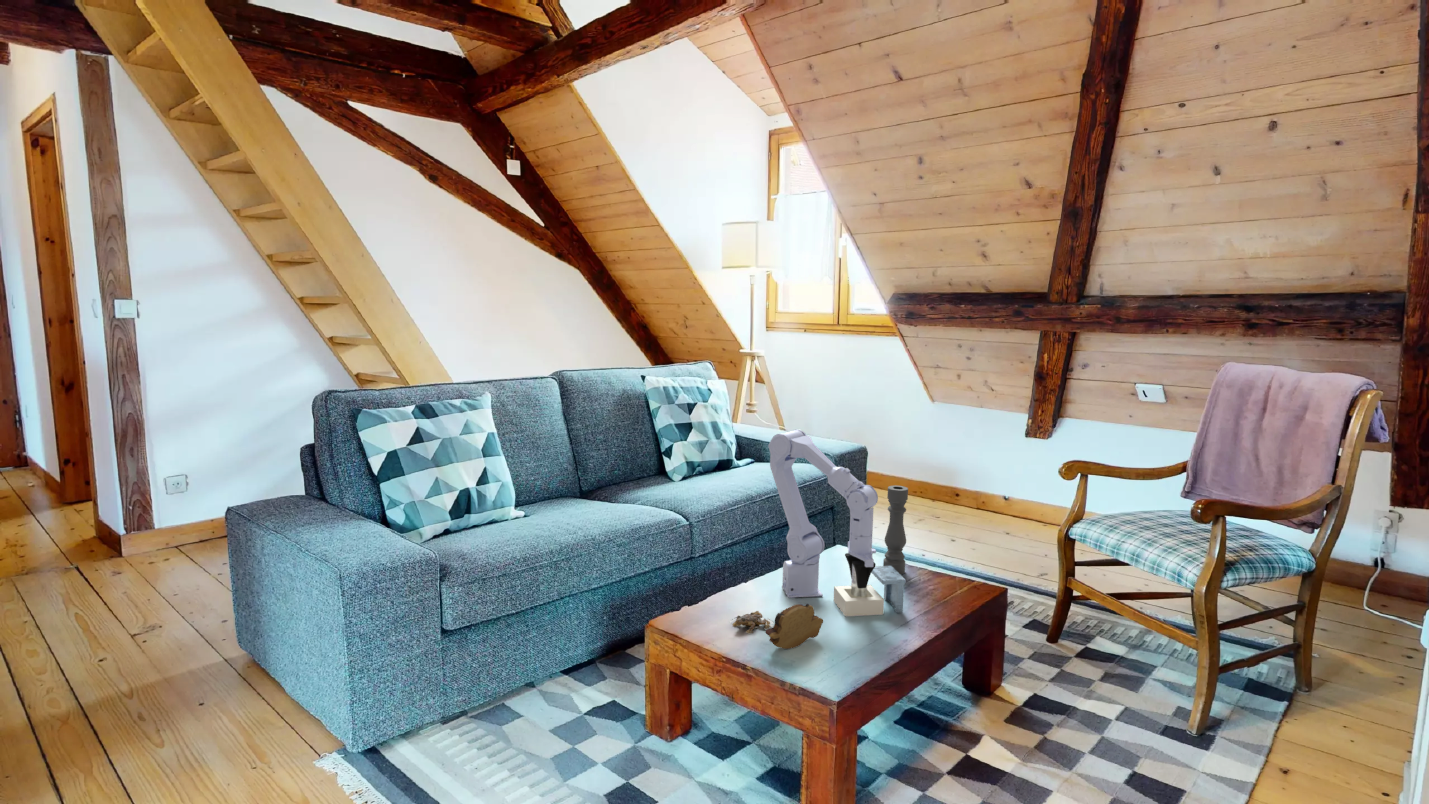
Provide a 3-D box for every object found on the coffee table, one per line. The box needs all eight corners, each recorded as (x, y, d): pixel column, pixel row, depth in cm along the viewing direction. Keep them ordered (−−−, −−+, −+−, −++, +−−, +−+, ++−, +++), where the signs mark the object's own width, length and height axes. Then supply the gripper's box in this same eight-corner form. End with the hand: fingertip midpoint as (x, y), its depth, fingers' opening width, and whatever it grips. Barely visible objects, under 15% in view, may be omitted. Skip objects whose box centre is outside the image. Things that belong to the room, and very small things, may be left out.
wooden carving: (809, 632, 194) (810, 592, 193) (824, 638, 191) (825, 598, 189) (761, 652, 183) (761, 610, 182) (775, 659, 180) (776, 617, 179)
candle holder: (905, 576, 232) (909, 491, 228) (883, 574, 233) (887, 490, 229) (904, 568, 238) (908, 486, 234) (883, 566, 239) (886, 484, 235)
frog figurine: (753, 642, 189) (754, 626, 189) (718, 626, 198) (718, 611, 197) (785, 628, 197) (786, 613, 197) (750, 613, 206) (750, 598, 205)
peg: (868, 596, 207) (870, 566, 206) (853, 596, 206) (855, 566, 205) (863, 590, 211) (865, 560, 209) (848, 590, 210) (850, 561, 209)
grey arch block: (881, 614, 205) (882, 580, 203) (868, 599, 215) (869, 566, 213) (903, 613, 206) (905, 579, 204) (889, 598, 215) (891, 565, 214)
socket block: (845, 616, 203) (845, 601, 203) (833, 600, 213) (834, 586, 213) (883, 614, 205) (883, 599, 204) (869, 599, 215) (870, 584, 214)
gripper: (886, 542, 199) (883, 594, 202) (866, 524, 214) (864, 573, 216) (858, 543, 198) (856, 595, 200) (840, 525, 213) (839, 574, 215)
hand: (858, 584), depth 208 cm, fingers closed on peg, 4 cm apart
